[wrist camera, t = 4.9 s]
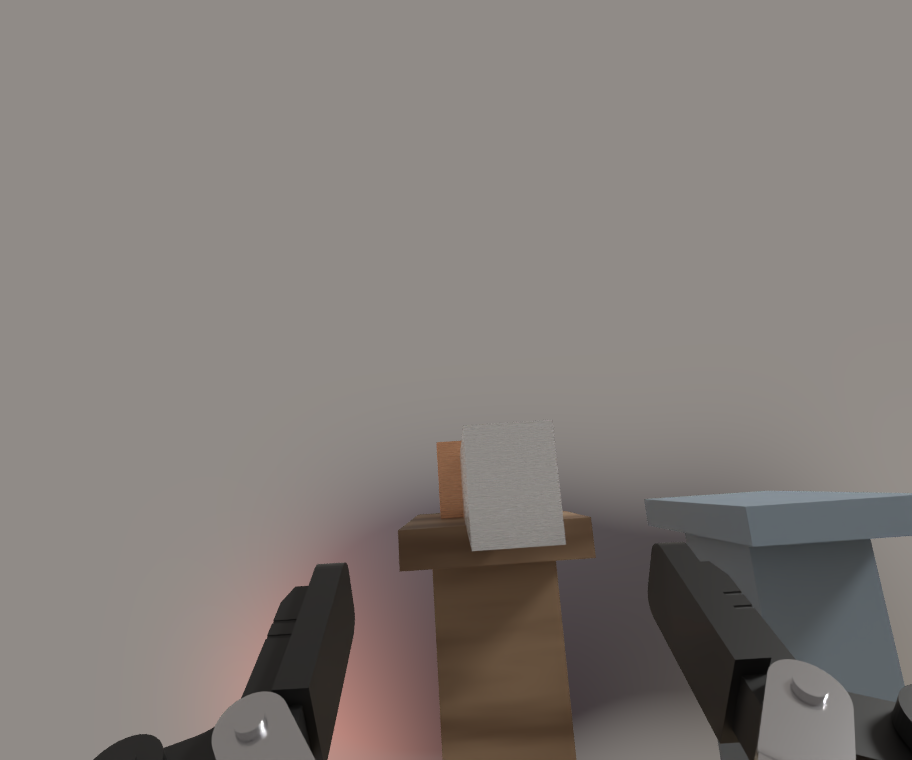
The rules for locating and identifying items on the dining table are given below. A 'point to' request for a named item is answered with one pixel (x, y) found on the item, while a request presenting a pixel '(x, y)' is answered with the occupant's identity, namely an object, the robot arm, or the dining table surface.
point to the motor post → (804, 573)
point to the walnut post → (498, 639)
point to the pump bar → (503, 485)
